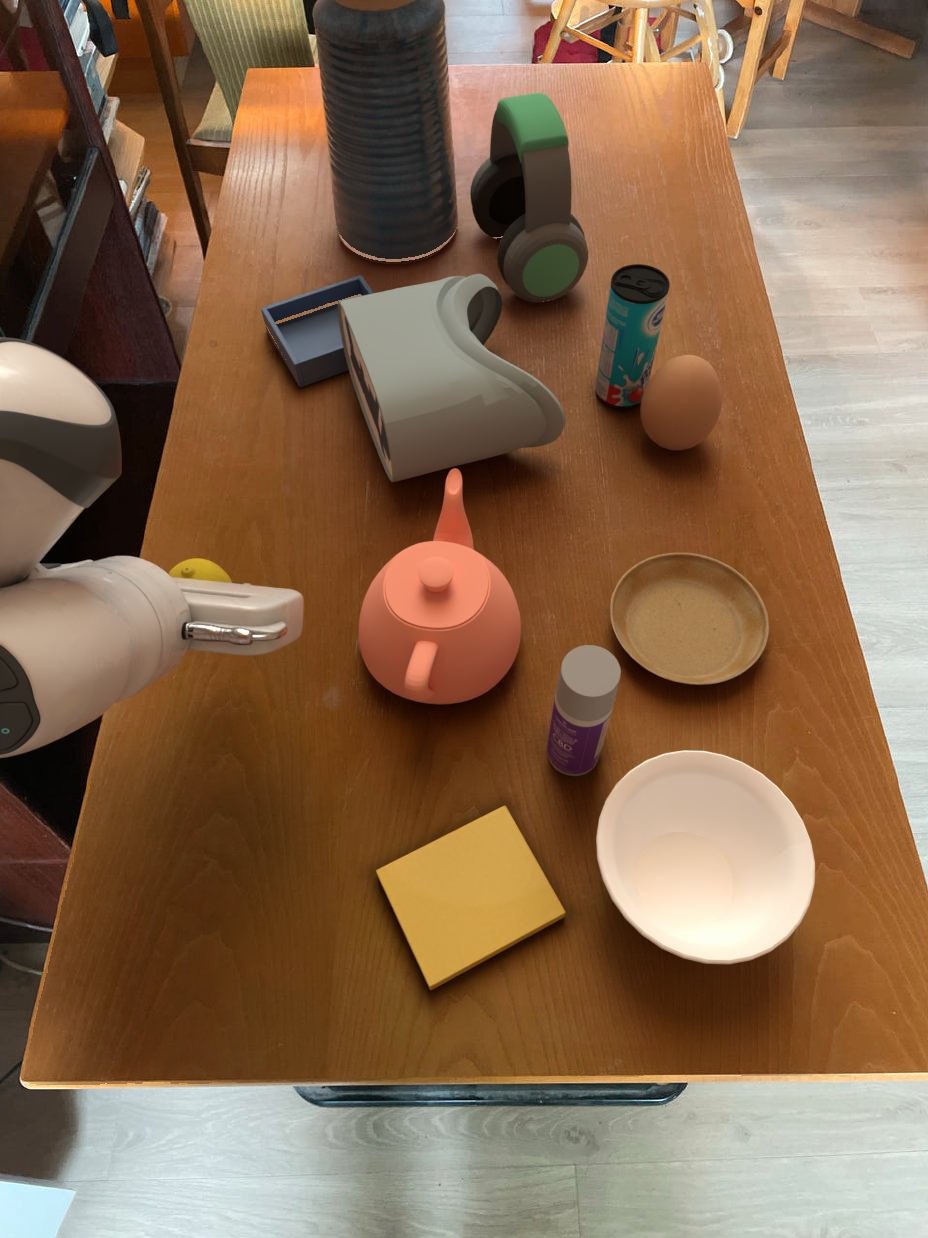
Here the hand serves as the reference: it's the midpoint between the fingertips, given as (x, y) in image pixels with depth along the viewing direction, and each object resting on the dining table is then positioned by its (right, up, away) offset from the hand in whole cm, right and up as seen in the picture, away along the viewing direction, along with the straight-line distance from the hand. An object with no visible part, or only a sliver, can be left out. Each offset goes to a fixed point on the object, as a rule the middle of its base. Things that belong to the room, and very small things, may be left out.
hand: (201, 588), depth 71 cm
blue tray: (+5, +32, +36) cm, 48 cm away
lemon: (0, -3, +4) cm, 5 cm away
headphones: (+29, +44, +44) cm, 69 cm away
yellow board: (+22, -25, +1) cm, 33 cm away
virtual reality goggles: (+20, +21, +30) cm, 41 cm away
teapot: (+19, -4, +14) cm, 24 cm away
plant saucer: (+42, -4, +14) cm, 45 cm away
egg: (+44, +17, +27) cm, 55 cm away
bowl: (+39, -24, +1) cm, 46 cm away
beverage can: (+39, +24, +31) cm, 55 cm away
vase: (+12, +50, +48) cm, 70 cm away
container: (+31, -14, +7) cm, 35 cm away
